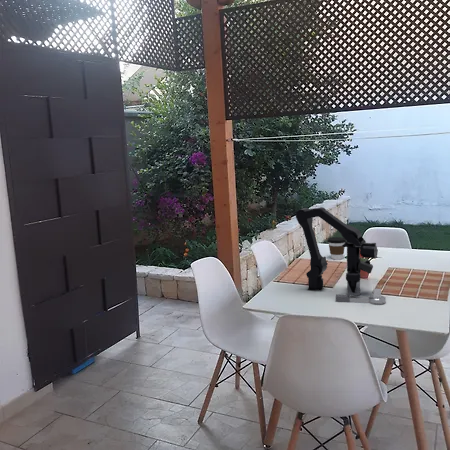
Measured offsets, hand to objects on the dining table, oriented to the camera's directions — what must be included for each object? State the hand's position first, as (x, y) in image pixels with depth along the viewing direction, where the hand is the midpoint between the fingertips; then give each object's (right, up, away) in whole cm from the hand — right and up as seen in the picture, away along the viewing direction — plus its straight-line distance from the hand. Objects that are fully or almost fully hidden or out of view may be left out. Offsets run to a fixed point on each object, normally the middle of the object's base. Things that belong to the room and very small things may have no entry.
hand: (353, 289), depth 216 cm
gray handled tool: (0, -4, -11) cm, 12 cm away
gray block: (0, -2, 0) cm, 2 cm away
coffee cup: (+8, +9, +64) cm, 65 cm away
